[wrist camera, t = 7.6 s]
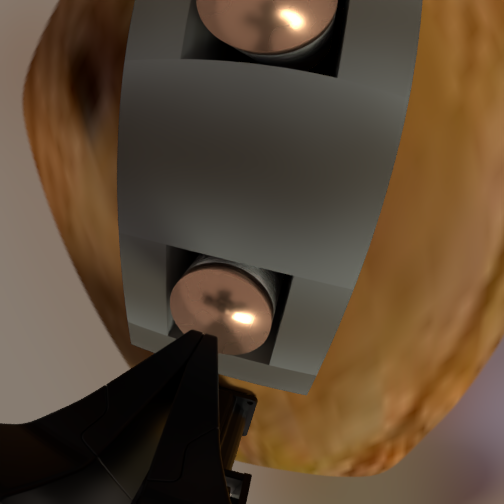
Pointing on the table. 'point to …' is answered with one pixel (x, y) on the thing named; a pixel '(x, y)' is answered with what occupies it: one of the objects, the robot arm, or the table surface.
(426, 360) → the table surface
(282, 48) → the front peg
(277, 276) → the rear peg
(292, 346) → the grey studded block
